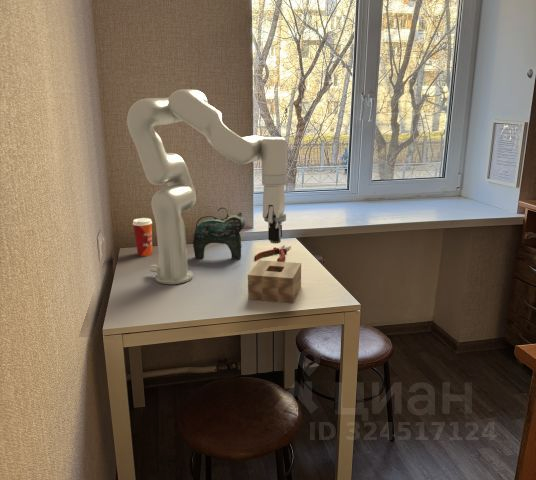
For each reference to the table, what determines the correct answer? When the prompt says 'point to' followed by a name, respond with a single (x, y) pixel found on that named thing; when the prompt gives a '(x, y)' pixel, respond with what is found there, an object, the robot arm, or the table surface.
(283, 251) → the pliers
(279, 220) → the grey metal rounded piece
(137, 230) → the paper cup
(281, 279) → the socket block
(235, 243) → the ceramic cat
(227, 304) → the table surface
